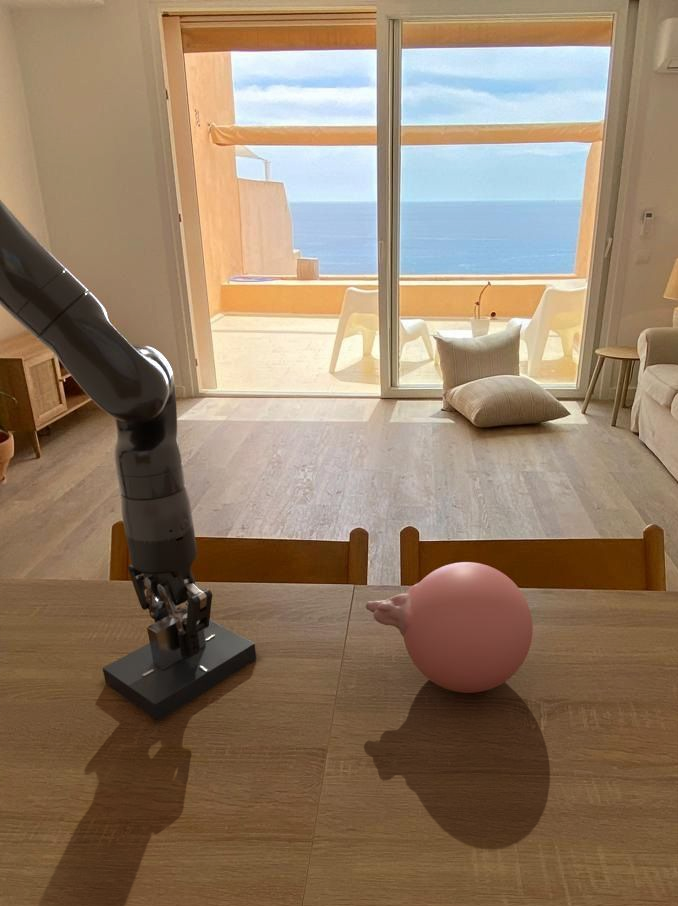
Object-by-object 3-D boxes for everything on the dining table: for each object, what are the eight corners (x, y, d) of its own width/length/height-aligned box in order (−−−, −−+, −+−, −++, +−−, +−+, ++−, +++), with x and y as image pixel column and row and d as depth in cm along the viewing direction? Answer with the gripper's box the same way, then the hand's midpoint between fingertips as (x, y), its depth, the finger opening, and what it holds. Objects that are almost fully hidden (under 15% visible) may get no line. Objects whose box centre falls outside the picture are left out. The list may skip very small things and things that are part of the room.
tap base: (158, 721, 80) (154, 703, 79) (105, 684, 86) (101, 666, 85) (256, 659, 90) (254, 642, 89) (203, 630, 97) (201, 614, 96)
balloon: (382, 632, 96) (381, 532, 89) (530, 650, 91) (539, 546, 85) (352, 704, 82) (347, 592, 76) (524, 730, 78) (534, 613, 71)
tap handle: (163, 670, 84) (156, 631, 82) (153, 664, 86) (146, 625, 83) (206, 645, 89) (200, 607, 87) (196, 640, 90) (190, 602, 88)
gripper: (95, 519, 81) (120, 641, 88) (168, 553, 73) (189, 685, 80) (151, 499, 87) (170, 616, 94) (225, 529, 78) (240, 654, 85)
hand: (179, 647), depth 87 cm, fingers open, 4 cm apart
